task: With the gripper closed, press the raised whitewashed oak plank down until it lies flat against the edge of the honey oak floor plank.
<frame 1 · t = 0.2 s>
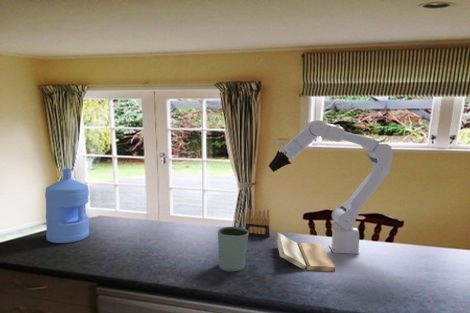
hand: (270, 168, 127), 31 cm above the kitchen counter, tool tilted 45°, fingers open, 7 cm apart
ammunition clip: (257, 236, 144), on the kitchen counter
laid plank: (314, 257, 120), on the kitchen counter
green cup: (232, 266, 111), on the kitchen counter
water jug: (68, 237, 136), on the kitchen counter
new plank: (289, 248, 120), point 3 cm above the kitchen counter, hinge at 28.0°
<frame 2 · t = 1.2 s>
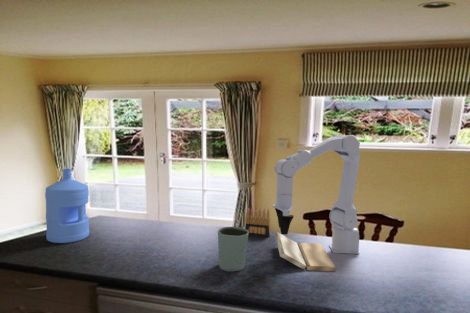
hand: (283, 230, 120), 9 cm above the kitchen counter, tool pointing down, fingers open, 7 cm apart
nothing on the kitchen counter moved.
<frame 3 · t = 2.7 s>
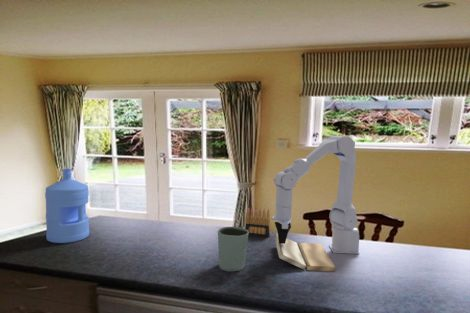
hand: (281, 242, 120), 5 cm above the kitchen counter, tool pointing down, fingers closed, pressing on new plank
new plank: (288, 249, 120), point 3 cm above the kitchen counter, hinge at 24.0°, touching gripper
everything else where it was.
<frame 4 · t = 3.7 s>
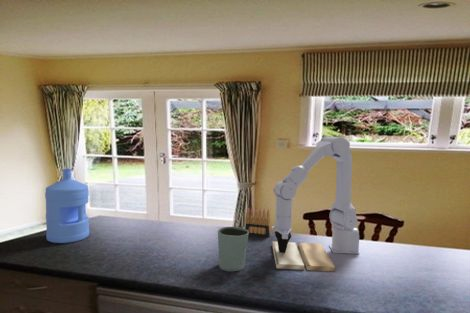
hand: (282, 252, 120), 2 cm above the kitchen counter, tool pointing down, fingers closed, pressing on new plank
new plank: (286, 254, 120), point 1 cm above the kitchen counter, hinge at 0.9°, touching gripper
everything else where it was.
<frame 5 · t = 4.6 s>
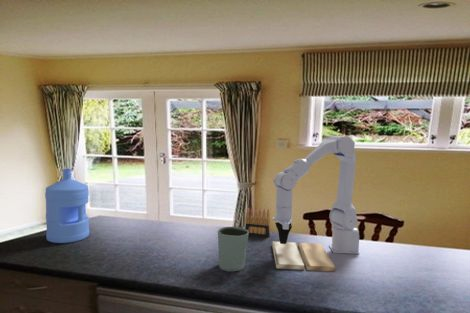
hand: (283, 243, 120), 5 cm above the kitchen counter, tool pointing down, fingers closed
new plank: (286, 254, 120), point 1 cm above the kitchen counter, hinge at 0.8°
everything else where it was.
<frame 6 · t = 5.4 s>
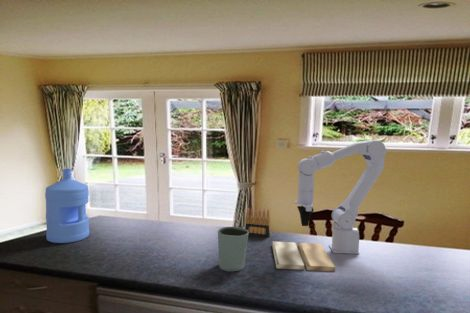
hand: (304, 225, 128), 9 cm above the kitchen counter, tool pointing down, fingers closed
nothing on the kitchen counter moved.
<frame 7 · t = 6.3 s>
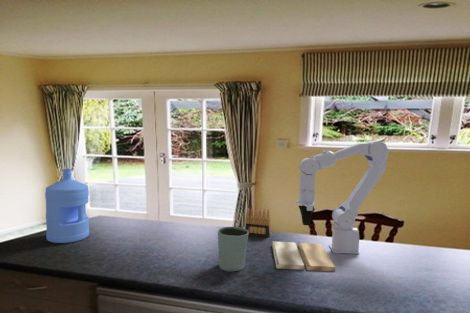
hand: (305, 224, 128), 9 cm above the kitchen counter, tool pointing down, fingers closed
nothing on the kitchen counter moved.
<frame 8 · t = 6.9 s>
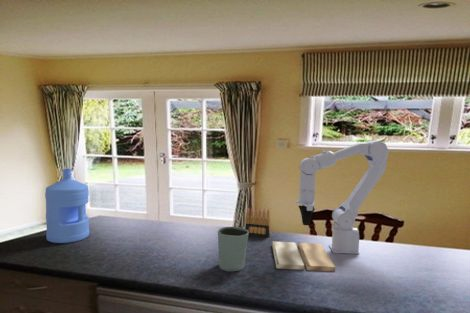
hand: (305, 224, 128), 9 cm above the kitchen counter, tool pointing down, fingers closed
nothing on the kitchen counter moved.
at the end: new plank at +1° (first picture: +28°); the gripper is holding nothing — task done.
